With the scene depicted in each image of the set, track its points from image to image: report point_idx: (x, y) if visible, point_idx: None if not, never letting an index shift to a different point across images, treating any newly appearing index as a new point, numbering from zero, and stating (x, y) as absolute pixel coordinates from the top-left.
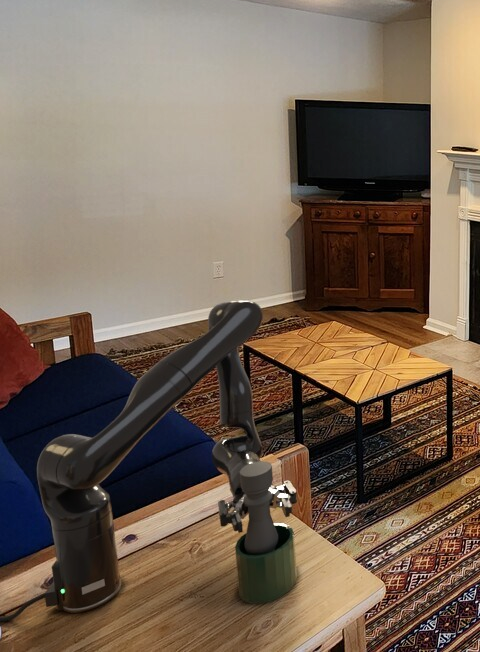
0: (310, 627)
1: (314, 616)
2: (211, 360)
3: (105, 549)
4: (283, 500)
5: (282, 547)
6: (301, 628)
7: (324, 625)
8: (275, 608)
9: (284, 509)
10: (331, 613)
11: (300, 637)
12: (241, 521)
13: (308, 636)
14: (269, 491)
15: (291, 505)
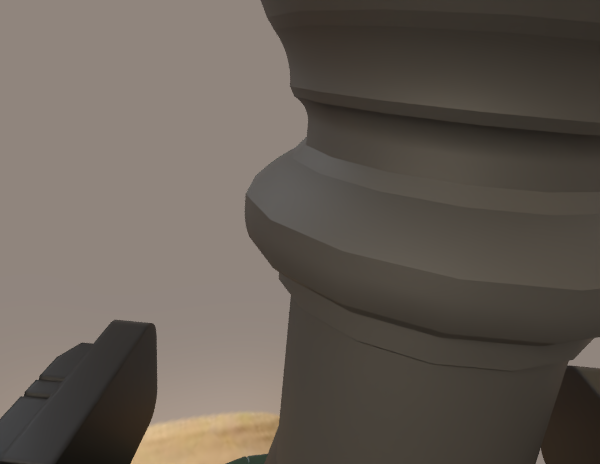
0: (236, 433)
1: (205, 461)
2: None
3: None
4: (57, 425)
5: (242, 461)
6: (257, 445)
7: (203, 417)
8: None
9: (138, 380)
10: (161, 441)
11: (272, 421)
12: (577, 371)
13: (254, 412)
14: (285, 160)
15: (58, 359)
